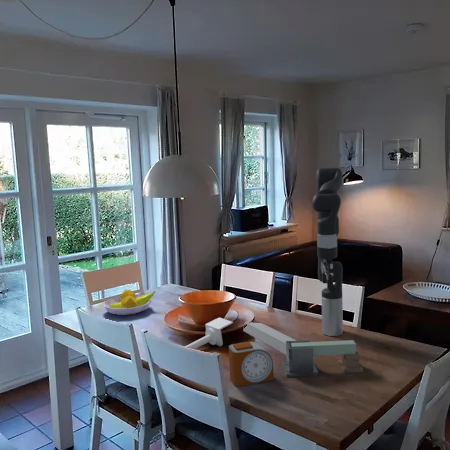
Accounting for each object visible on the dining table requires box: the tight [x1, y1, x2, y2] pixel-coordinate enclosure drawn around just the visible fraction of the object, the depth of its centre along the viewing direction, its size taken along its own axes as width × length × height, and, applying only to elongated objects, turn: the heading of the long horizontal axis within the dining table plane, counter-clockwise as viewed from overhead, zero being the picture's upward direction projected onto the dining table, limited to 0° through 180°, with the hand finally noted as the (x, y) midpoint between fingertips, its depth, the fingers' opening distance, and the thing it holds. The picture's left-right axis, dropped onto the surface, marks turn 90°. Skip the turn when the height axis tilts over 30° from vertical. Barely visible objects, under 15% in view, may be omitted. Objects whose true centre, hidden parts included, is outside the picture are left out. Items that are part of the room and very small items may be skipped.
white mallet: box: [184, 317, 234, 350], centre depth 201 cm, size 9×9×32 cm
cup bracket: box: [281, 339, 319, 378], centre depth 178 cm, size 11×12×10 cm
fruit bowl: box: [103, 289, 156, 316], centre depth 258 cm, size 28×27×11 cm
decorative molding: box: [242, 321, 297, 356], centre depth 209 cm, size 34×5×10 cm
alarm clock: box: [228, 341, 275, 387], centre depth 171 cm, size 15×8×14 cm, turn 106°
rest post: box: [338, 350, 364, 374], centre depth 178 cm, size 9×7×6 cm
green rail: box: [291, 339, 357, 357], centre depth 177 cm, size 4×24×4 cm, turn 90°
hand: (327, 286), depth 182 cm, fingers open, 8 cm apart
